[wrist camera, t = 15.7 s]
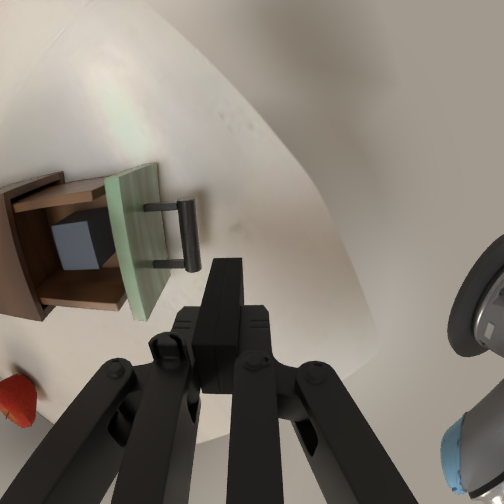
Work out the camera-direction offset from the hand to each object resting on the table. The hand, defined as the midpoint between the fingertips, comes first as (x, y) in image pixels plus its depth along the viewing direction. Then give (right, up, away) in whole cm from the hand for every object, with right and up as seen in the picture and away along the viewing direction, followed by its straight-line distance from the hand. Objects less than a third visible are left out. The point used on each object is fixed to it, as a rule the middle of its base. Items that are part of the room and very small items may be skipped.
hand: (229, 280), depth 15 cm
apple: (-47, -26, +26) cm, 60 cm away
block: (-14, +4, +10) cm, 18 cm away
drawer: (-12, +4, +11) cm, 17 cm away
